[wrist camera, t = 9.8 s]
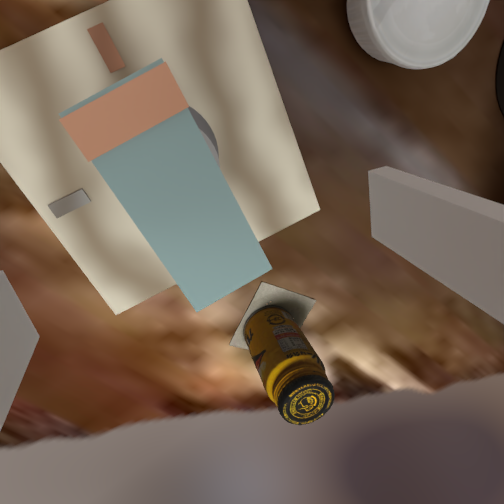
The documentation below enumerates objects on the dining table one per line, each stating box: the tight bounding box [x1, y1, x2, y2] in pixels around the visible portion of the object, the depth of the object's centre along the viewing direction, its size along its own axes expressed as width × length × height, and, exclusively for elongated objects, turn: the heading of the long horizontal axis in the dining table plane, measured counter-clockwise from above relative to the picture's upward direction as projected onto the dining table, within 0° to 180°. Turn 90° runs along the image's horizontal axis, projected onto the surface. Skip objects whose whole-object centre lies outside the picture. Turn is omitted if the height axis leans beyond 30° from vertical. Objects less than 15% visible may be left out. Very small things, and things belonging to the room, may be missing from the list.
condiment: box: [230, 282, 334, 425], centre depth 38 cm, size 7×8×12 cm
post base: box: [0, 0, 320, 315], centre depth 32 cm, size 22×22×2 cm
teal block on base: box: [59, 58, 272, 312], centre depth 25 cm, size 12×7×14 cm, turn 26°
